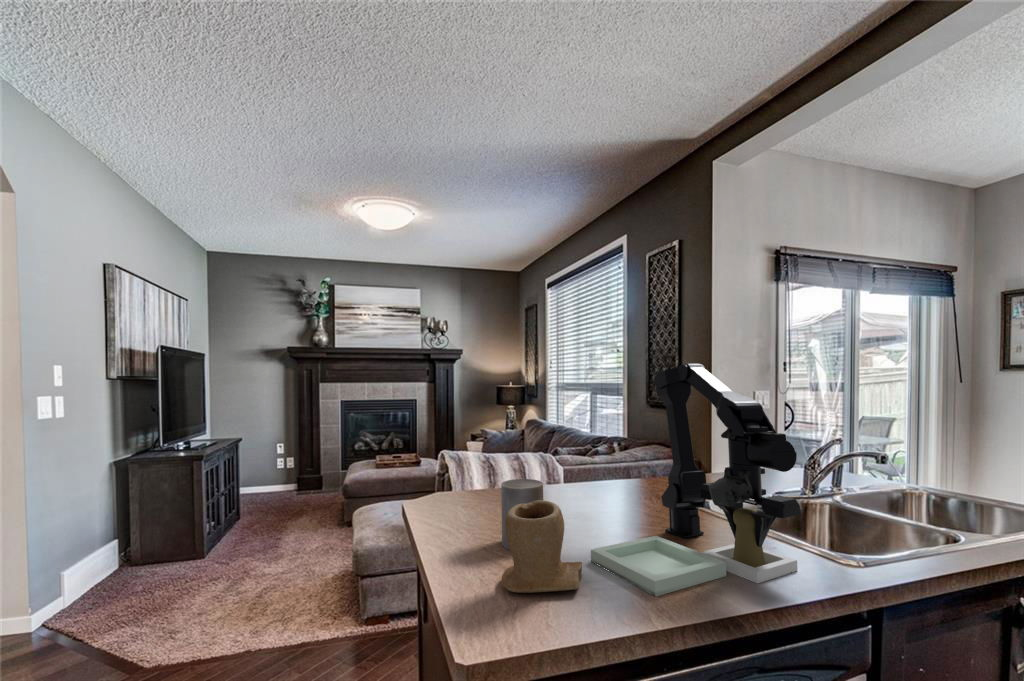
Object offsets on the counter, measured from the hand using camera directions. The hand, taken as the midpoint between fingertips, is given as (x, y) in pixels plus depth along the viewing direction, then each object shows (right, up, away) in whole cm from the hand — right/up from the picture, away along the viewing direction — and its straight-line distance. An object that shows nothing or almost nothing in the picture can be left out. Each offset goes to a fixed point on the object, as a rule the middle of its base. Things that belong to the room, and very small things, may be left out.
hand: (748, 542), depth 96 cm
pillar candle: (-45, -6, +13) cm, 47 cm away
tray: (-19, -5, -1) cm, 19 cm away
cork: (0, -5, 0) cm, 5 cm away
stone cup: (-41, -4, -10) cm, 43 cm away
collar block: (0, -5, 0) cm, 4 cm away
